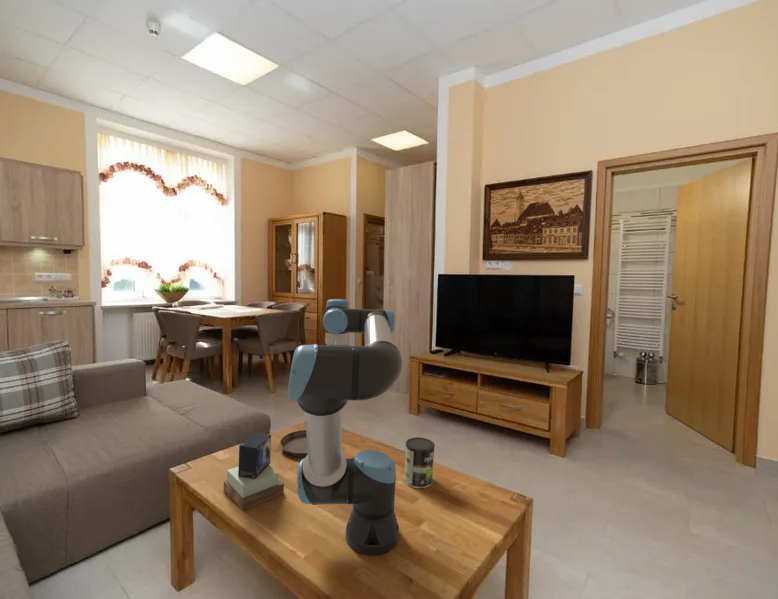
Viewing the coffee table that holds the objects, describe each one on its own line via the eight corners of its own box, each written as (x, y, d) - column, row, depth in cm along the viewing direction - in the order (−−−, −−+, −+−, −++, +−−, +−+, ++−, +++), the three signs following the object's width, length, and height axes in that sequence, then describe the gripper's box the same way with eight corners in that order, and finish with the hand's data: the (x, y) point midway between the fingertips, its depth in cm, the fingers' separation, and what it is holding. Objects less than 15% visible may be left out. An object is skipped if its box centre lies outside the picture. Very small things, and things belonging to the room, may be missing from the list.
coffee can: (437, 479, 142) (439, 442, 141) (423, 492, 133) (425, 452, 132) (413, 470, 148) (414, 434, 146) (398, 482, 139) (400, 444, 138)
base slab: (283, 494, 130) (283, 483, 129) (243, 512, 119) (243, 500, 119) (262, 477, 139) (262, 467, 139) (223, 492, 129) (223, 481, 129)
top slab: (278, 484, 128) (278, 472, 128) (242, 498, 120) (242, 485, 120) (261, 469, 137) (261, 458, 137) (227, 481, 129) (227, 470, 128)
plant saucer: (314, 464, 149) (314, 456, 149) (269, 453, 156) (269, 445, 156) (338, 442, 169) (339, 435, 168) (297, 433, 176) (297, 426, 175)
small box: (256, 479, 123) (256, 447, 123) (237, 477, 124) (237, 445, 124) (271, 463, 134) (272, 433, 133) (253, 461, 135) (254, 431, 134)
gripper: (354, 339, 144) (352, 395, 146) (299, 347, 125) (297, 411, 127) (369, 342, 140) (367, 400, 141) (314, 350, 121) (312, 417, 122)
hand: (334, 405), depth 134 cm, fingers open, 13 cm apart
